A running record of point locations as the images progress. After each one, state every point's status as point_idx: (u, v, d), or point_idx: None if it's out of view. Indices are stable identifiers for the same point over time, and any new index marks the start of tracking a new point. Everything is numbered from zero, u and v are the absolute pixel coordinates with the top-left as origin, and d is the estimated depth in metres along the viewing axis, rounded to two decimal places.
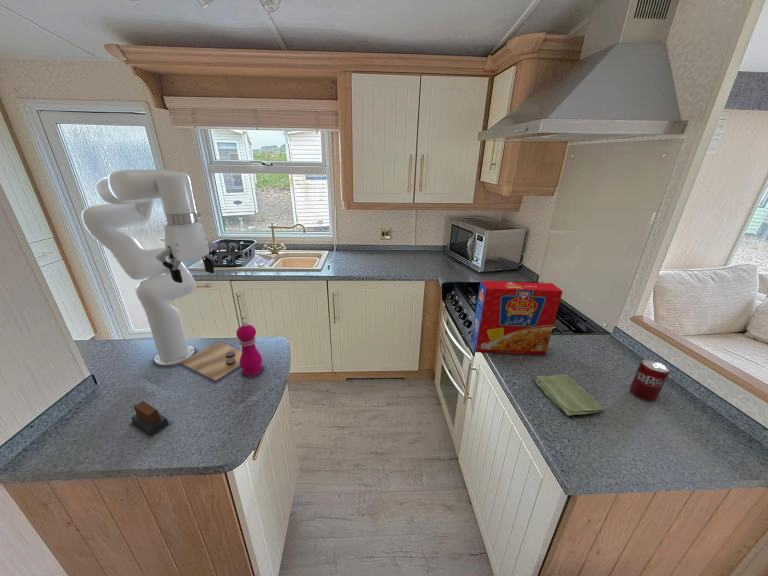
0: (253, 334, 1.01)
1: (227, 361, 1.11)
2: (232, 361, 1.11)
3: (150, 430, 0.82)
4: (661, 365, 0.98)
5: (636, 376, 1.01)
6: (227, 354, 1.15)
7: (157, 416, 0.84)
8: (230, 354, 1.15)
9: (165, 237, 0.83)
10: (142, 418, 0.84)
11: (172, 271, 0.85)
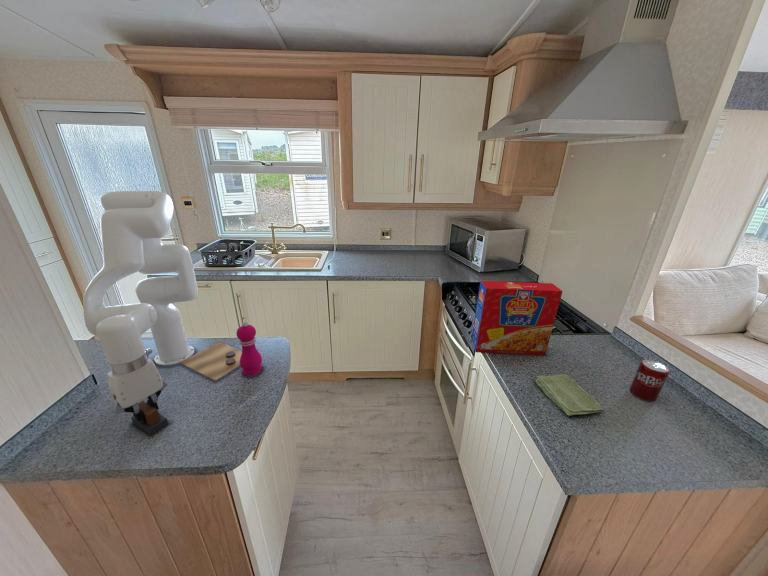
0: (253, 334, 1.01)
1: (227, 361, 1.11)
2: (232, 361, 1.11)
3: (150, 430, 0.82)
4: (661, 365, 0.98)
5: (636, 376, 1.01)
6: (227, 354, 1.15)
7: (157, 416, 0.84)
8: (230, 354, 1.15)
9: (109, 385, 0.76)
10: None
11: (135, 413, 0.81)
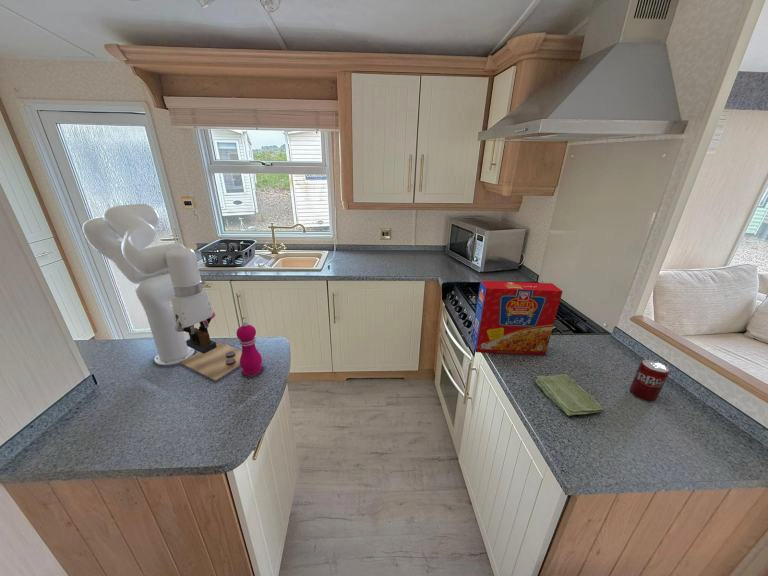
0: (253, 334, 1.01)
1: (227, 361, 1.11)
2: (232, 361, 1.11)
3: (203, 349, 0.97)
4: (661, 365, 0.98)
5: (636, 376, 1.01)
6: (227, 354, 1.15)
7: (208, 339, 0.99)
8: (230, 354, 1.15)
9: (173, 306, 0.92)
10: None
11: (191, 334, 0.97)
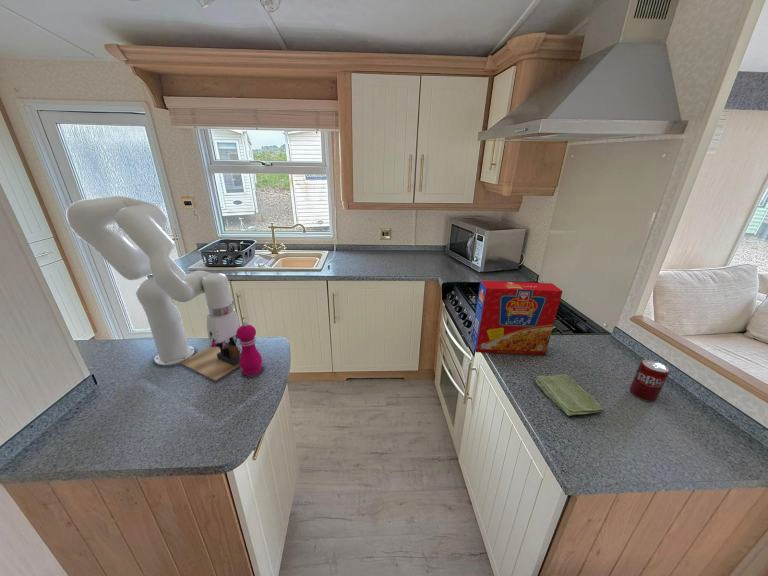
0: (253, 334, 1.01)
1: None
2: None
3: (233, 361, 1.09)
4: (661, 365, 0.98)
5: (636, 376, 1.01)
6: None
7: (237, 352, 1.11)
8: None
9: (208, 325, 1.03)
10: None
11: (222, 349, 1.09)
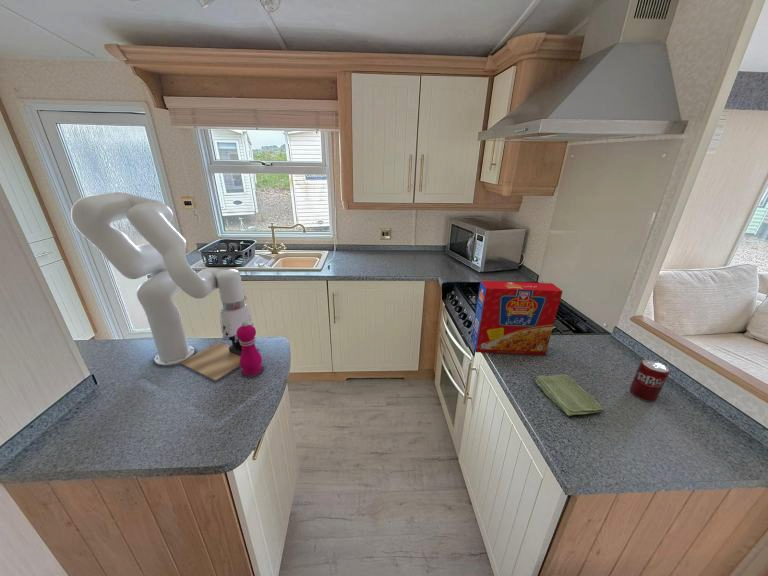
0: (253, 334, 1.01)
1: None
2: None
3: None
4: (661, 365, 0.98)
5: (636, 376, 1.01)
6: None
7: None
8: None
9: (221, 319, 1.08)
10: None
11: (234, 342, 1.13)
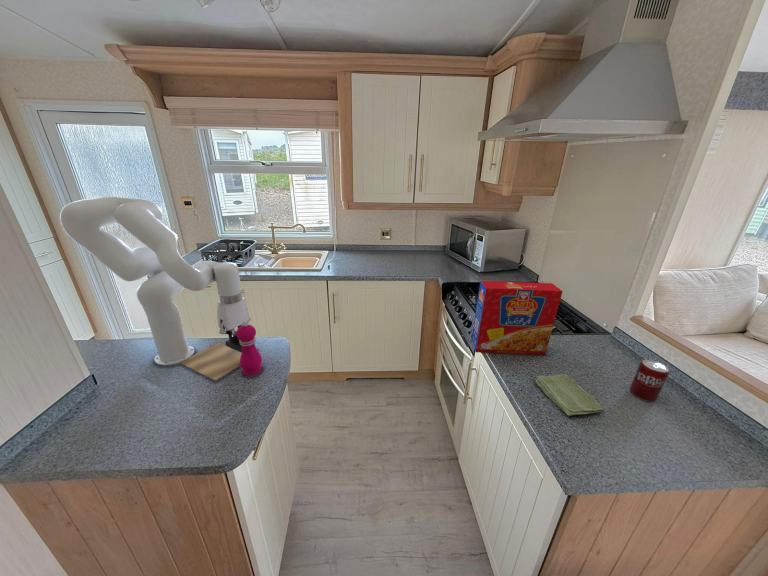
0: (253, 334, 1.01)
1: None
2: None
3: None
4: (661, 365, 0.98)
5: (636, 376, 1.01)
6: None
7: None
8: None
9: (218, 312, 1.06)
10: None
11: (231, 336, 1.12)
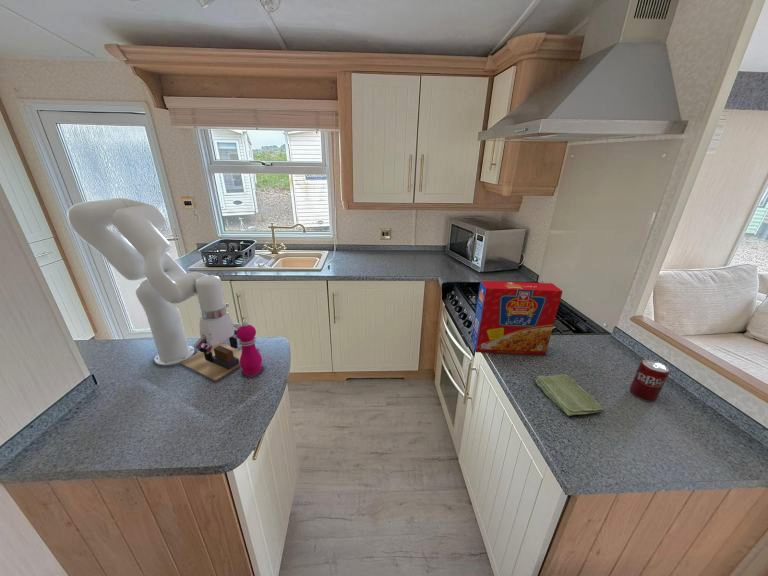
0: (253, 334, 1.01)
1: None
2: None
3: (228, 365, 1.07)
4: (661, 365, 0.98)
5: (636, 376, 1.01)
6: (240, 348, 1.20)
7: (232, 356, 1.09)
8: None
9: (201, 328, 1.01)
10: (220, 357, 1.09)
11: (206, 354, 1.04)
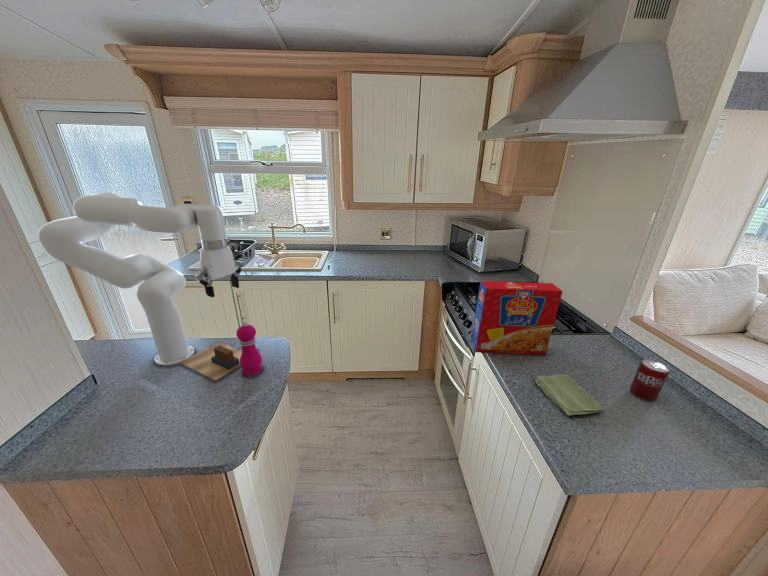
0: (253, 334, 1.01)
1: None
2: None
3: (228, 365, 1.07)
4: (661, 365, 0.98)
5: (636, 376, 1.01)
6: (240, 348, 1.20)
7: (232, 356, 1.09)
8: None
9: (201, 259, 0.99)
10: (220, 357, 1.09)
11: (206, 287, 1.01)
